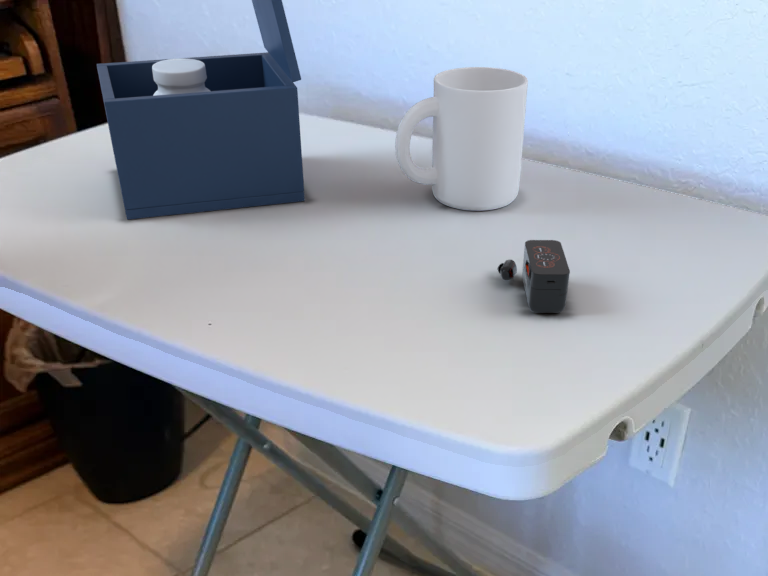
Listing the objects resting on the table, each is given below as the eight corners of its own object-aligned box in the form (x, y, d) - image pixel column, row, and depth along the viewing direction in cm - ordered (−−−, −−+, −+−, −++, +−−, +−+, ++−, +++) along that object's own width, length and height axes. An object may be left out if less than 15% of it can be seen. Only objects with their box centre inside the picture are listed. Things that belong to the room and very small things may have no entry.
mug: (408, 221, 83) (408, 97, 76) (383, 189, 89) (381, 73, 82) (532, 207, 86) (542, 87, 79) (499, 177, 92) (507, 63, 85)
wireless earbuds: (554, 275, 74) (558, 235, 72) (565, 316, 69) (571, 274, 67) (496, 275, 74) (499, 235, 72) (503, 315, 69) (506, 274, 67)
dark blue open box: (127, 220, 83) (104, 102, 77) (117, 172, 93) (96, 63, 86) (304, 201, 87) (297, 87, 80) (277, 157, 96) (268, 52, 90)
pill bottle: (151, 180, 88) (131, 66, 82) (193, 164, 92) (177, 53, 86) (195, 192, 86) (179, 75, 79) (237, 175, 89) (224, 62, 83)
